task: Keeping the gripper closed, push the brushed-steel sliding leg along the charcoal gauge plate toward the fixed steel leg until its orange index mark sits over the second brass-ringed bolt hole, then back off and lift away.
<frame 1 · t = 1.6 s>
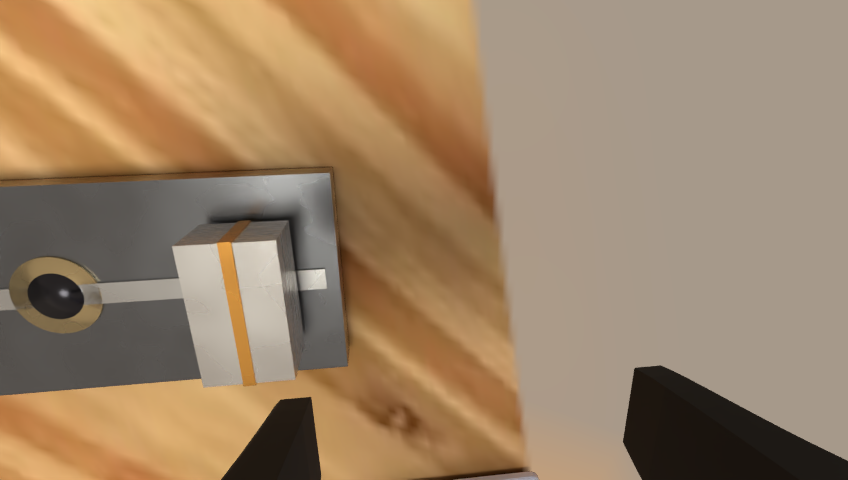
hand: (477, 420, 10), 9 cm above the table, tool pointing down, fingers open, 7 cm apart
sliding leg: (247, 301, 15), point 3 cm above the table, slide at 0.0 cm
gauge plate: (51, 283, 17), on the table
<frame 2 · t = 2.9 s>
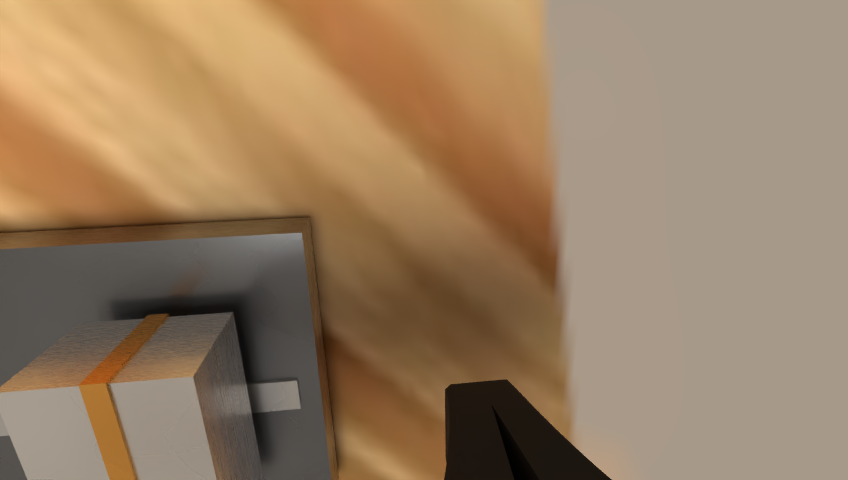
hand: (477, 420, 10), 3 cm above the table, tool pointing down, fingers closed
sliding leg: (160, 454, 9), point 3 cm above the table, slide at 0.0 cm
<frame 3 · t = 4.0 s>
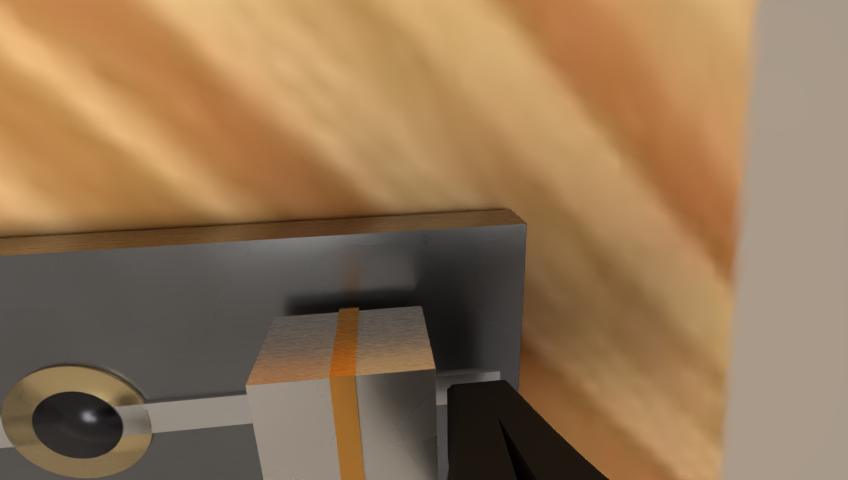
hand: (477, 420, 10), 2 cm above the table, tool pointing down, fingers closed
sliding leg: (356, 447, 9), point 3 cm above the table, slide at 0.9 cm, touching gripper
gauge plate: (68, 391, 11), on the table
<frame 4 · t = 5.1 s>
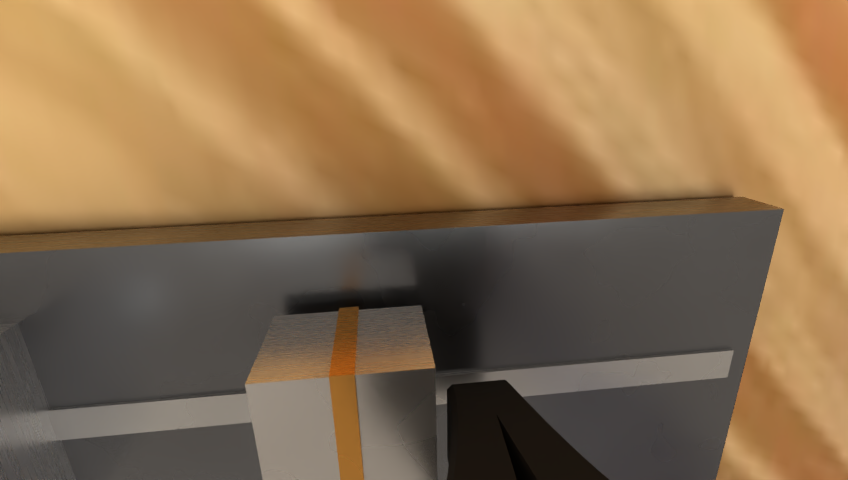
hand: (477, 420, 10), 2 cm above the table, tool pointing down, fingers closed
sliding leg: (356, 447, 9), point 3 cm above the table, slide at 6.8 cm, touching gripper
gauge plate: (314, 368, 11), on the table
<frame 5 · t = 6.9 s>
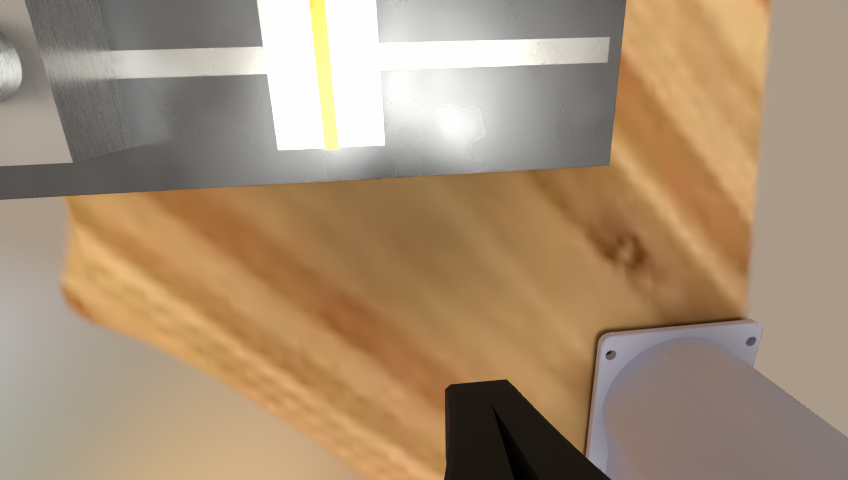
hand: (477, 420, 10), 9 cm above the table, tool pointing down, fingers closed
sliding leg: (326, 55, 13), point 3 cm above the table, slide at 6.9 cm
gauge plate: (300, 61, 15), on the table
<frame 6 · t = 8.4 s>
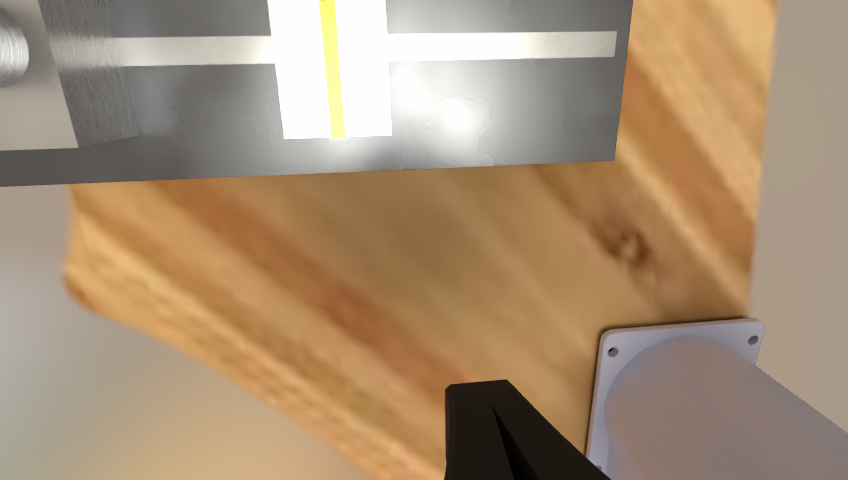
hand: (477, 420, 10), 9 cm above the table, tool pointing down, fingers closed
sliding leg: (333, 44, 13), point 3 cm above the table, slide at 6.9 cm
gauge plate: (307, 52, 15), on the table
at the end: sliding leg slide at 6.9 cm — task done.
